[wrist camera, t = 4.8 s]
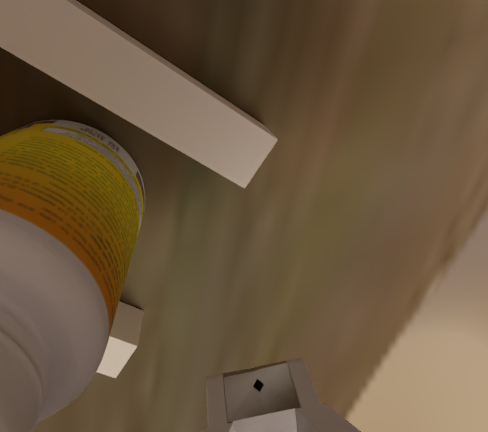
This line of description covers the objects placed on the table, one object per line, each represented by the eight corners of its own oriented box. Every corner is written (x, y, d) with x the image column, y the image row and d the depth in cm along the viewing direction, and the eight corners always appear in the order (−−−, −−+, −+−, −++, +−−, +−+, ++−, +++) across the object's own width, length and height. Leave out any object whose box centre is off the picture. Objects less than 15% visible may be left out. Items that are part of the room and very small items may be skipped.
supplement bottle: (38, 82, 12) (-409, 191, 3) (175, 175, 14) (148, 409, 5) (-34, 204, 14) (-485, 526, 5) (100, 273, 16) (-26, 593, 7)
